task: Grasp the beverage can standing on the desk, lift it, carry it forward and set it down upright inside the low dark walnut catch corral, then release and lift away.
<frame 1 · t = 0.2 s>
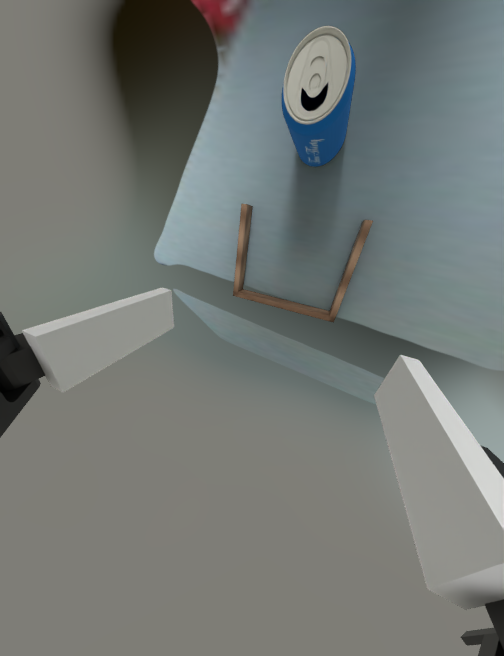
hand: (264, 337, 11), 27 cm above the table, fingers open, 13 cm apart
catch corral: (291, 263, 35), on the table
beverage can: (320, 139, 27), on the table
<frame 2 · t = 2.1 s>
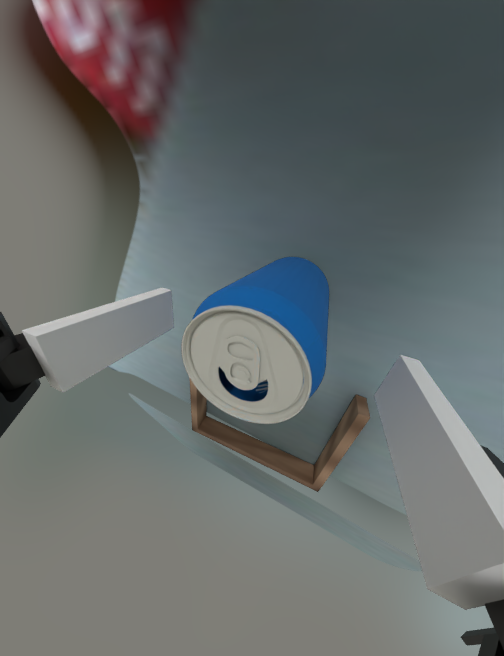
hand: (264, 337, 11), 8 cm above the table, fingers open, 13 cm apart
catch corral: (263, 410, 26), on the table
beverage can: (292, 292, 18), on the table
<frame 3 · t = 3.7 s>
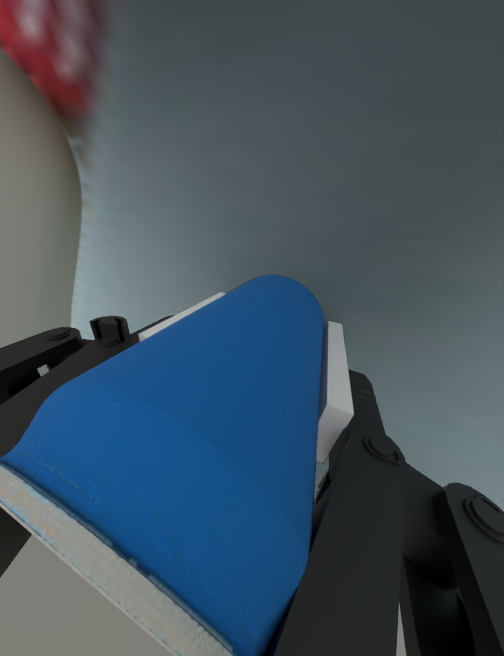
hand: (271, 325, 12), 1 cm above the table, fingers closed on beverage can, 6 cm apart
beverage can: (276, 319, 13), on the table, touching gripper
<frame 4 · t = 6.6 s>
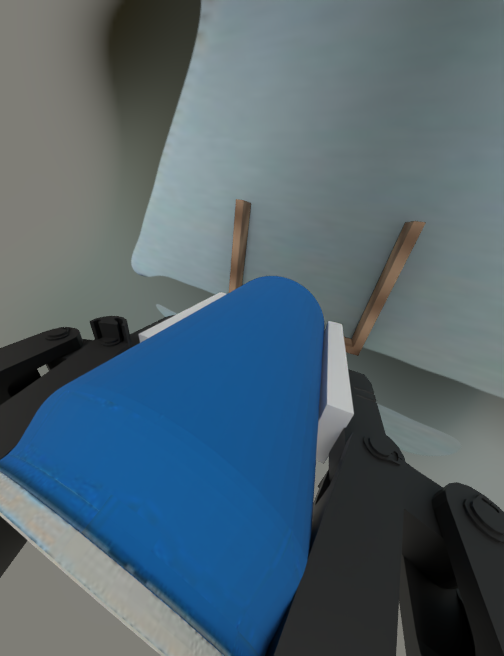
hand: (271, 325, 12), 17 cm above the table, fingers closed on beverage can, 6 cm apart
catch corral: (302, 278, 26), on the table
beverage can: (276, 319, 13), point 15 cm above the table, touching gripper
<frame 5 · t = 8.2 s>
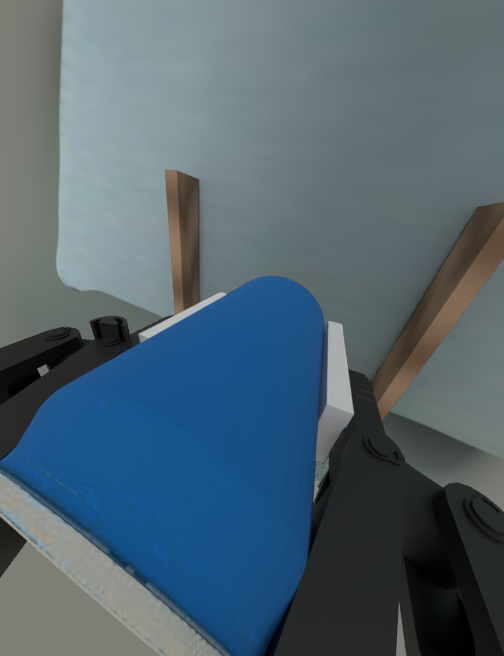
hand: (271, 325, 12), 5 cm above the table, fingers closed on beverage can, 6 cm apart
catch corral: (286, 302, 16), on the table
beverage can: (276, 319, 13), point 4 cm above the table, touching gripper
when the fingers open (3 cm above the table, at t = 9.3 s): beverage can drops 2 cm, on the table.
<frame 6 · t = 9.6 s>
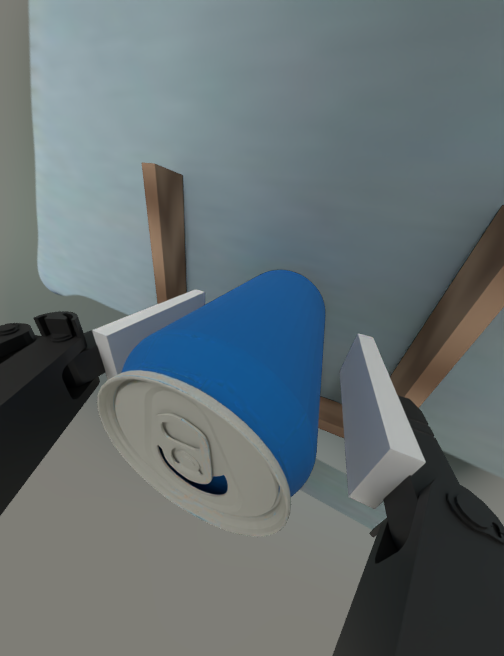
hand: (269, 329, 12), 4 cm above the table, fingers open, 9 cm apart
catch corral: (281, 310, 15), on the table
beverage can: (282, 309, 15), on the table
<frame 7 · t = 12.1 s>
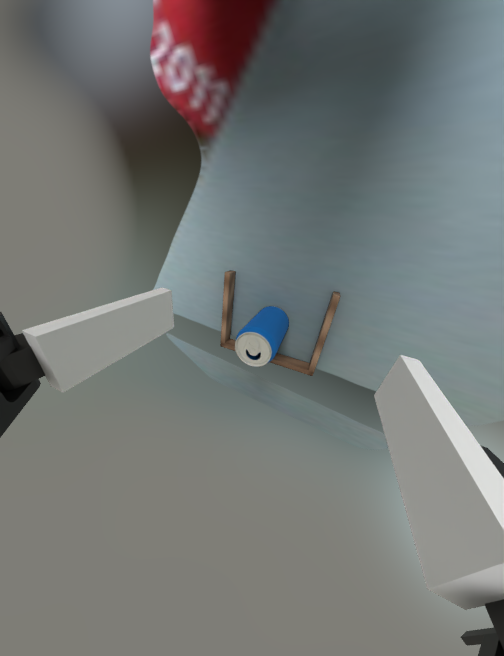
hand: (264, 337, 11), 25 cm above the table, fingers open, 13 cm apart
catch corral: (273, 320, 37), on the table
beverage can: (273, 320, 38), on the table
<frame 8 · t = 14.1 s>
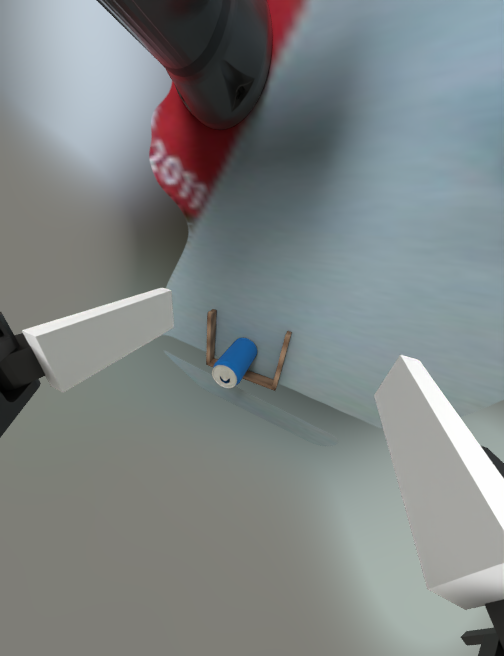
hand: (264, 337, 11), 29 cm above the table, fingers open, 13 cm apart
catch corral: (246, 347, 48), on the table
beverage can: (246, 347, 48), on the table
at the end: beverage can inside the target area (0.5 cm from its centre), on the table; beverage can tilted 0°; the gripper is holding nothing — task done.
